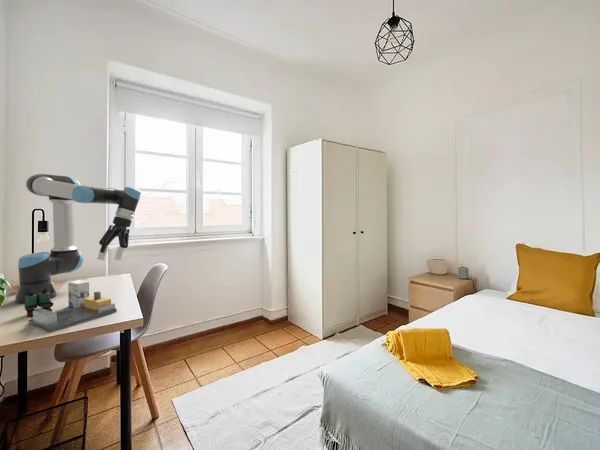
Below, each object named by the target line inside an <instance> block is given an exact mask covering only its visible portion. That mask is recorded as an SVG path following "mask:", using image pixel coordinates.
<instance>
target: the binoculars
mask: <svg viewBox="0 0 600 450" xmlns="http://www.w3.org/2000/svg"><path fill="white" fill-rule="evenodd" d="M41 291H42V293H39V294H37V295H36V294H34V295H33V293H34V291H27V294H28V296H26V297H25V303H24V310H25V311H26V315H27V317H28V318H33V311H35V310H39V309H45V310H48V311H51V312H53V310H52V307H53V306H54V304H55V303H54V302H52V300H51V298H50V294H49V292H47V288H44V289H42V290H41Z"/></svg>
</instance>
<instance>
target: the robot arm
mask: <svg viewBox="0 0 600 450" xmlns="http://www.w3.org/2000/svg"><path fill="white" fill-rule="evenodd" d="M25 186H26V188H27V190H28V192H29V193H31V194H33V195H36V196H38V197H48V200H49V201H50V202H51V203H52V221H53V222H52V223H53V225H52V226H53V227H52V228H53V247H52V248H51V249H50V252H49V251H40V252H34V253H28V254H25V255H22V256H21V257H19V258H18V265H17V268H18V277H19V278H18V279H19V280H18V281H19V286H18V290H17V293H16V295H15V298H14V299H15V303H17V304H25V297H26V296H28V294H27V291H34V293H33V295H34V294H36V295H37V294H39V293H42V291H41V290H42V289H44V288H47V292H49V294H50V299H53V298H54V297H56V296H57V292H56V289H55V288H54V285H53V284H52V280H51V278H52V276H55V275H61V274H66V273H69V274H70V273H71V272H75V271H77V270H79V269H80V268H81V267H82V265H83V263H84V255H83V253H82V252H81V251H80V250H78V247H77V246H75V235H74V234H75V232H74V231H75V229H74V227H75V226H74V204H75V203H80V204H108V205H110V204H112V205H113V204H114V205H118V206H117V208H116V211H115V214H114V215H115V216H114V217H113V220H112V224H110V225H109V226H108V228H107V230H106V231H105V232H104V234H103V236H102V237H101V239H100V240H99V241H98V243H99V245H100V246H101V247H100V249H99V253H98V255H97V257H96V259H97V260H101V261H104V260H105V258H106V256H107V252H108V250H109V246H110V244H111V242H113V241H114V240H115V238H117V237H118V242H119V244H118V245H119V246H118V247H117V250H116V253H115V256H114V259H113V260H115V261H121V260H122V256H123V254H124V251H125V249H127V248H128V247H129V239H130V235H129V234H130V231H131V230H130V229H129V228H130V227H131V224H132V220H133V218H134V216H135V212H136V210H137V207H138V204H139V201H140V197H141V194H142V192H141V191H140V190H139V189H137V188H134V187H132V186H131V187H130V186H125V187H124V189H123V190H121V189H116V188H113V187H106V188H103V187H94V186H88V185H81V183H80V182H79V180H77V179H76V178H75V177H71V176H66V175H54V174H47V173H38V174H37V173H36V174H32V175H31V176H30V177H28V178H27V179H26V182H25ZM113 224H114V225H113Z"/></svg>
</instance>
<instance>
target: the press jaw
mask: <svg viewBox="0 0 600 450" xmlns="http://www.w3.org/2000/svg"><path fill="white" fill-rule="evenodd" d="M101 294H102V293H101V291H100V290H98V291H94V292H93V296H92V295H91V296H89V297H88V298H84V307H86V308H90V309H93V310H97V308H98V307H102V306H106V305H109V304H112V299H111V298H109V297H105V296H102V295H101Z"/></svg>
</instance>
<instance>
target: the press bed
mask: <svg viewBox="0 0 600 450" xmlns="http://www.w3.org/2000/svg"><path fill="white" fill-rule="evenodd" d="M38 309H39V310H35V311H33V317H32V318H31V319H28V320H27V321H28V322H27V323H28V325H31V326H33V327H35V328H37V329H40V330H43V331H46V332H48V333H53V332H55V331H59V330H62V329H66V328H68V327H72V326H75V325H78V324H81V323H84V322H89V321H91V320H95V319H97V318H101V317H105V316H107V315H110V314H114V313H117V308H116V304H115V303H111V304H109V305H106V306H102V307H98V308H97V310H93V309H90V308H86V307H84V302H81V303H80V307H76V308H73V307H71V308H70V309H66V310H61V311H58V312H54V311H52V312H51V311H48V310H45V309H40V308H38Z"/></svg>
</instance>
